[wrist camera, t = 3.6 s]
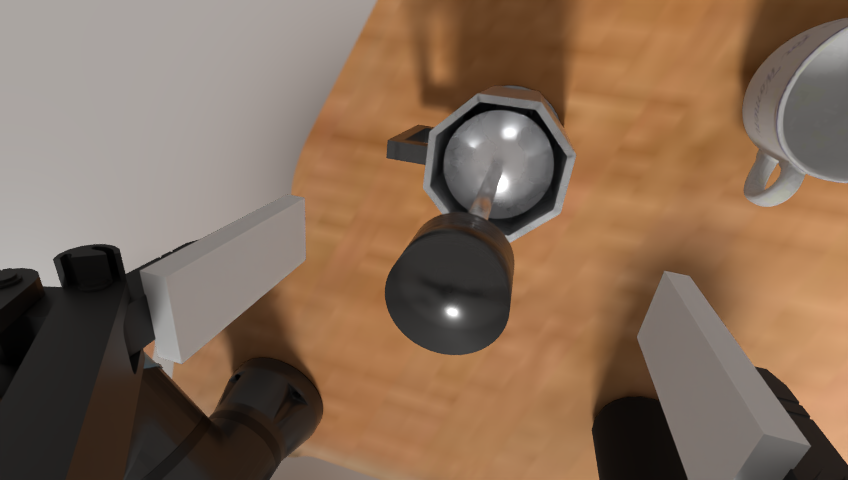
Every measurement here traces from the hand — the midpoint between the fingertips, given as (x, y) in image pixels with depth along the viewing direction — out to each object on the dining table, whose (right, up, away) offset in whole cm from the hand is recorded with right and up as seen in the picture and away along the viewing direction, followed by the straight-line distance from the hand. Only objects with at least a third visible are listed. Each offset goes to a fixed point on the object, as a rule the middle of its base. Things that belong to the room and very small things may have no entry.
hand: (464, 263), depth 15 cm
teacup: (+29, +12, +19) cm, 36 cm away
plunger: (+4, +7, +16) cm, 17 cm away
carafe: (+5, +11, +25) cm, 28 cm away
